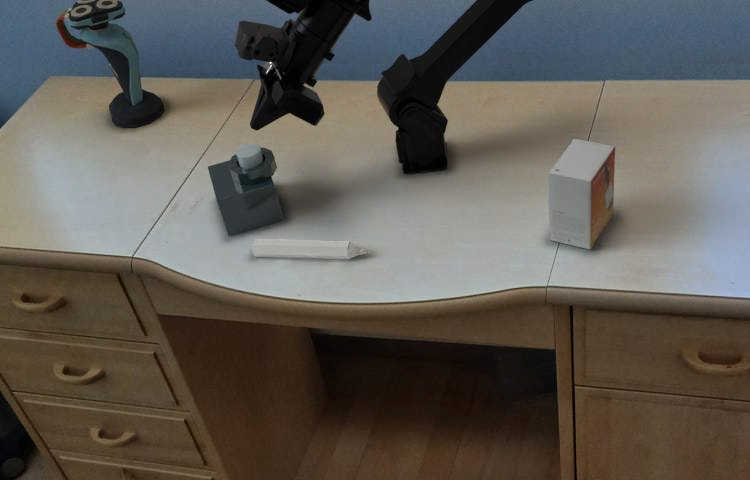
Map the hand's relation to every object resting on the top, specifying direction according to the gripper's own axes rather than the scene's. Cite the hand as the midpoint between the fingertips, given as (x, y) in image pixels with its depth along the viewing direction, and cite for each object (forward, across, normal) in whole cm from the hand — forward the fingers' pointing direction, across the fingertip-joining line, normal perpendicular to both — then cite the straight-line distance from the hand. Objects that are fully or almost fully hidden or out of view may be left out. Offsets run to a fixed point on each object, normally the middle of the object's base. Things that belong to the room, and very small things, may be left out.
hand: (253, 128), depth 124 cm
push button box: (+11, 0, +7) cm, 13 cm away
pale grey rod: (+7, +14, +11) cm, 19 cm away
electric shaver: (+22, -37, -3) cm, 43 cm away
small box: (-17, +24, +34) cm, 45 cm away
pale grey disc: (+5, 0, +3) cm, 5 cm away
